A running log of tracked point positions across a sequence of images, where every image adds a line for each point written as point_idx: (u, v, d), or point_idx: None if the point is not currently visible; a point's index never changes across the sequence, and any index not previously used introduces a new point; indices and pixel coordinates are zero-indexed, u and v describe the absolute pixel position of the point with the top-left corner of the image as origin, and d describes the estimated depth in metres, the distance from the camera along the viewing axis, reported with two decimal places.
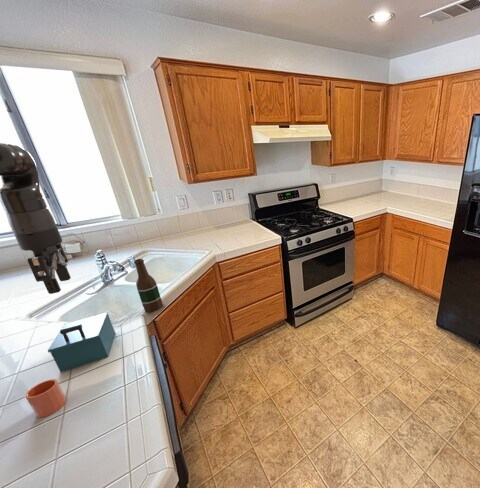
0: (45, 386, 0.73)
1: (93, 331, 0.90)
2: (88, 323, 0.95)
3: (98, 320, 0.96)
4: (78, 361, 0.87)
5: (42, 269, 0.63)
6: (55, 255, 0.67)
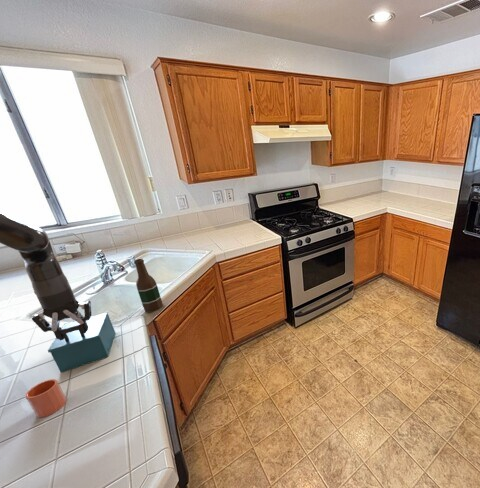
0: (45, 386, 0.73)
1: (93, 331, 0.90)
2: (88, 323, 0.95)
3: (98, 320, 0.96)
4: (78, 361, 0.87)
5: None
6: (54, 314, 0.81)
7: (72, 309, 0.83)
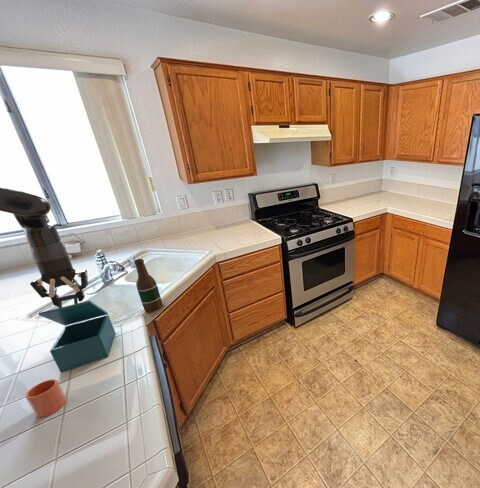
0: (45, 386, 0.73)
1: None
2: None
3: None
4: (78, 361, 0.87)
5: None
6: (51, 280, 0.84)
7: (69, 276, 0.87)
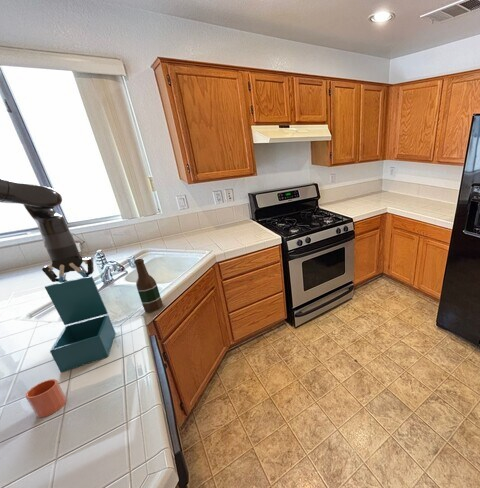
0: (45, 386, 0.73)
1: None
2: None
3: None
4: (78, 361, 0.87)
5: None
6: (61, 266, 0.93)
7: (77, 263, 0.95)
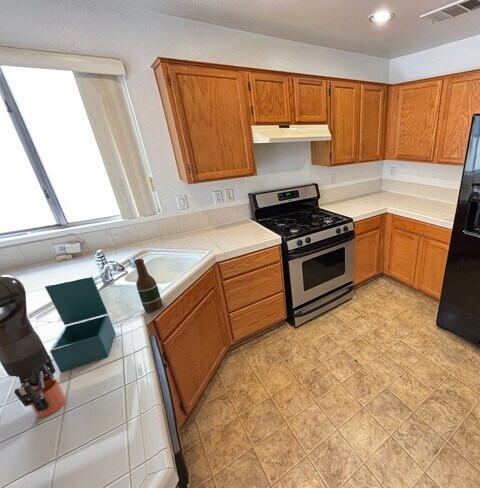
0: (45, 386, 0.73)
1: None
2: None
3: None
4: (78, 361, 0.87)
5: None
6: None
7: None
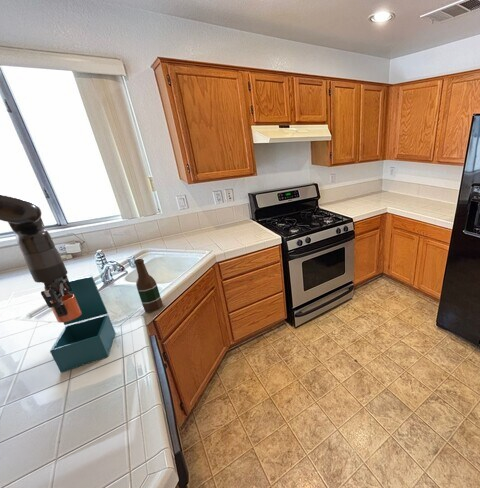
0: (64, 299, 0.87)
1: None
2: None
3: None
4: (78, 361, 0.87)
5: None
6: None
7: None
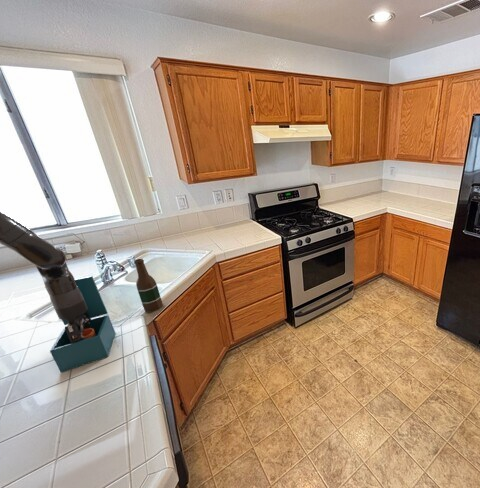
0: (84, 333, 0.95)
1: None
2: None
3: None
4: (78, 361, 0.87)
5: None
6: None
7: None
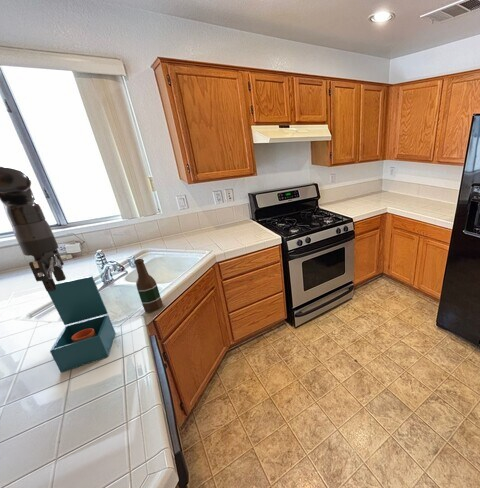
0: (84, 333, 0.95)
1: None
2: None
3: None
4: (78, 361, 0.87)
5: None
6: None
7: None
